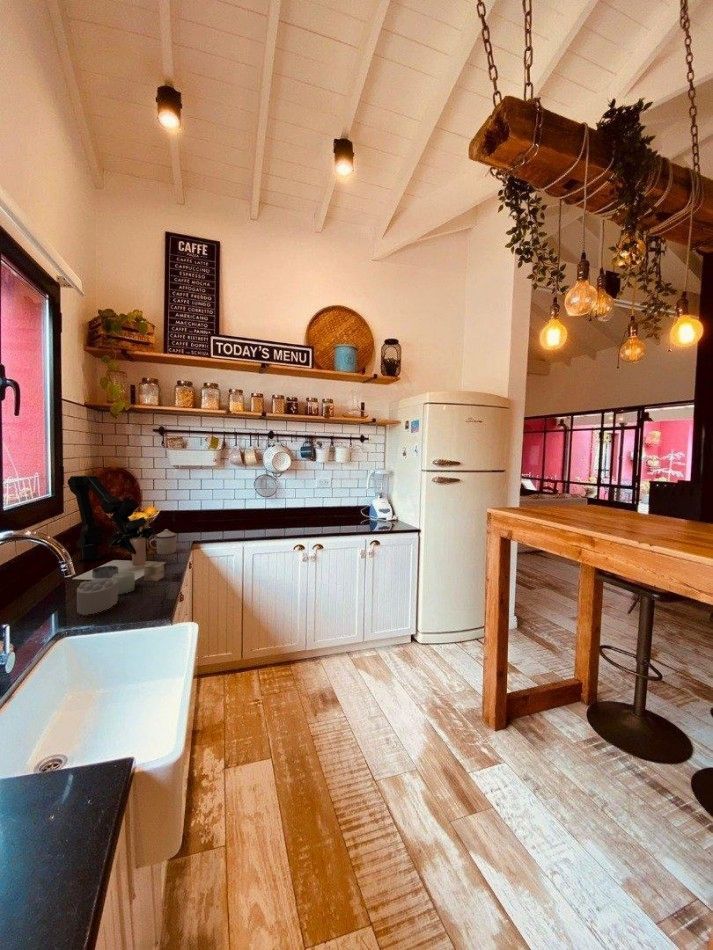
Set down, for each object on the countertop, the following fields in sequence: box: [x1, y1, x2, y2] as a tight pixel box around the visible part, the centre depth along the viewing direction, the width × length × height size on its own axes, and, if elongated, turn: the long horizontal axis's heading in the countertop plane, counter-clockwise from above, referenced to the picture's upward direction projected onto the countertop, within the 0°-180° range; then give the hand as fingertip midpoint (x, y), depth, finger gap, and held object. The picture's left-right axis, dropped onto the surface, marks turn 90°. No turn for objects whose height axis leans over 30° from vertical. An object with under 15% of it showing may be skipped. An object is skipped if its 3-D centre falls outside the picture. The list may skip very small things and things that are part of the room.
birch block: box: [143, 563, 165, 582], centre depth 157 cm, size 5×5×7 cm
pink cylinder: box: [131, 537, 147, 566], centre depth 170 cm, size 5×5×11 cm
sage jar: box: [112, 572, 136, 595], centre depth 147 cm, size 7×7×6 cm
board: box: [72, 559, 167, 584], centre depth 166 cm, size 24×26×2 cm
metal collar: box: [92, 566, 118, 578], centre depth 159 cm, size 9×9×2 cm
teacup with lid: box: [149, 528, 177, 555], centre depth 199 cm, size 12×9×12 cm
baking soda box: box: [123, 518, 150, 554], centre depth 200 cm, size 10×6×16 cm
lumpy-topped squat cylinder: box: [76, 578, 119, 616], centre depth 132 cm, size 10×13×9 cm
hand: (141, 552), depth 169 cm, fingers closed on pink cylinder, 5 cm apart
